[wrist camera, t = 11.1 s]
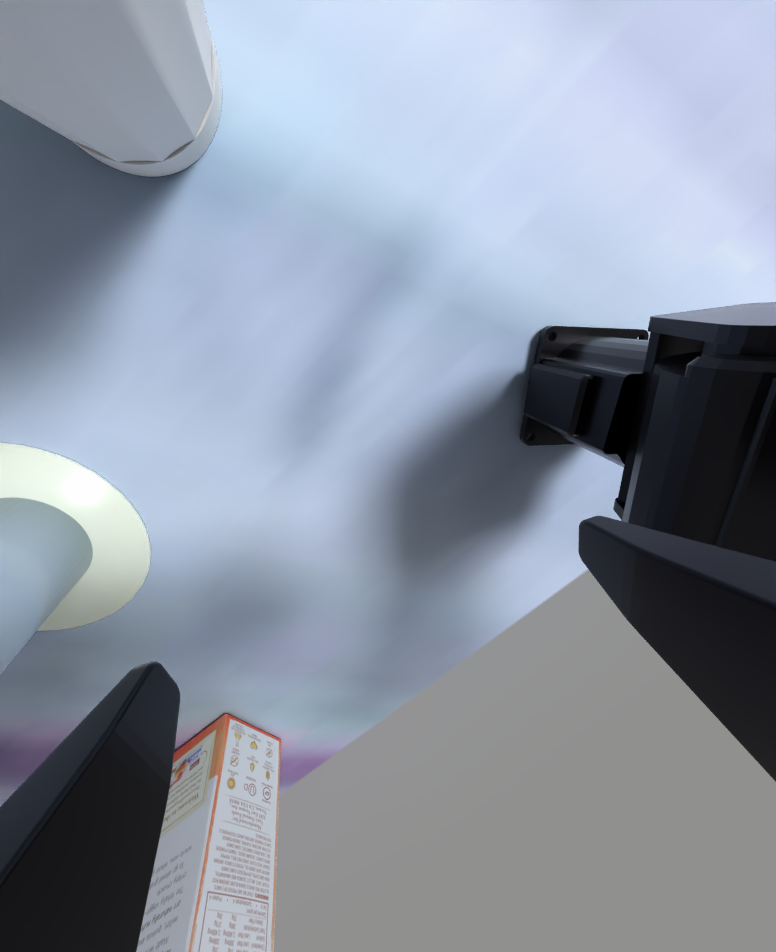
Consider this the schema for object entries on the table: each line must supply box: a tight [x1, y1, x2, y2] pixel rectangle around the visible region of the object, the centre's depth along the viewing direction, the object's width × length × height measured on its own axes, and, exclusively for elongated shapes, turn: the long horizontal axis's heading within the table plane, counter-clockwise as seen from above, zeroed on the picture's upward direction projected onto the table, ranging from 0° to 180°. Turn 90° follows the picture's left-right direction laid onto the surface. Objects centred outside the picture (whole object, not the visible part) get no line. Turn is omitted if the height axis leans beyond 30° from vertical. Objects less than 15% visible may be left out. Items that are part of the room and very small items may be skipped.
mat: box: [0, 442, 151, 631], centre depth 18 cm, size 11×11×1 cm
